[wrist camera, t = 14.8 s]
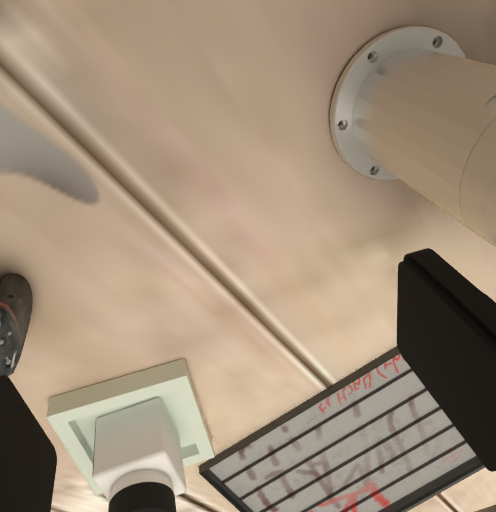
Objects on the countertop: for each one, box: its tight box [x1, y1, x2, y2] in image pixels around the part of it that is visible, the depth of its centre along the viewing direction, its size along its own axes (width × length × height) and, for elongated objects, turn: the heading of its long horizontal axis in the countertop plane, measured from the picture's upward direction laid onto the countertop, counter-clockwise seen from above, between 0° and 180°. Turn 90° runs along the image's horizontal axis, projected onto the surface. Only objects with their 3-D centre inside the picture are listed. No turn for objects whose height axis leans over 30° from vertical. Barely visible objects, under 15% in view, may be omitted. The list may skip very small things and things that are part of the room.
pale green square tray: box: [47, 358, 215, 495], centre depth 50 cm, size 14×14×2 cm
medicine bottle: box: [92, 398, 186, 512], centre depth 45 cm, size 7×7×12 cm
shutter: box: [199, 346, 485, 512], centre depth 64 cm, size 32×7×31 cm
